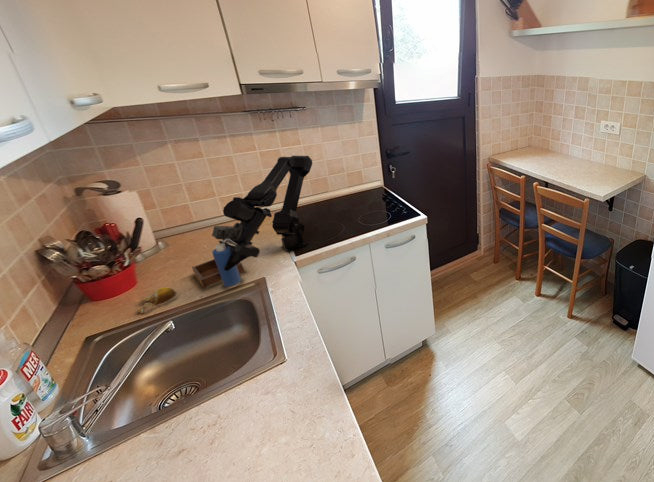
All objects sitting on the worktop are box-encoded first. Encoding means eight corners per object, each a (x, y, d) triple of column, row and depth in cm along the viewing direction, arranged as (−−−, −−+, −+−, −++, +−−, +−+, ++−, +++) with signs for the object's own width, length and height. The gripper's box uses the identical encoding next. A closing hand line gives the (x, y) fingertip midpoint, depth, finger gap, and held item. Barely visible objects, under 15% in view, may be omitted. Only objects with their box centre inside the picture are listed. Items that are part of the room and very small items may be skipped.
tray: (233, 261, 124) (230, 252, 122) (244, 272, 117) (241, 263, 116) (195, 276, 115) (191, 267, 114) (204, 289, 108) (201, 280, 107)
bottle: (238, 276, 114) (226, 239, 109) (243, 281, 111) (231, 244, 106) (222, 283, 111) (208, 246, 105) (226, 289, 108) (213, 251, 102)
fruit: (142, 300, 104) (137, 290, 102) (176, 289, 109) (173, 280, 107) (139, 315, 98) (134, 305, 96) (175, 302, 103) (171, 293, 101)
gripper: (214, 209, 110) (184, 252, 106) (239, 223, 101) (207, 271, 96) (246, 220, 119) (219, 261, 115) (272, 234, 110) (244, 279, 105)
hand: (222, 267), depth 107 cm, fingers closed on bottle, 5 cm apart
